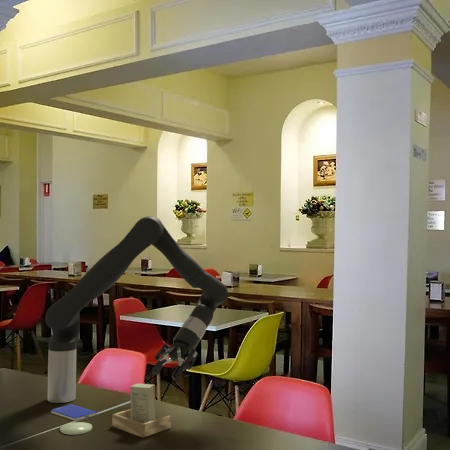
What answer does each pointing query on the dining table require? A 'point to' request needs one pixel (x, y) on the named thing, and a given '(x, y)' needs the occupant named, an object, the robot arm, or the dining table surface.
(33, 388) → the dining table surface
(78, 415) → the hard drive
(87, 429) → the pale green round disc
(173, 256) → the robot arm
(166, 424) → the holder
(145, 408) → the skincare box
